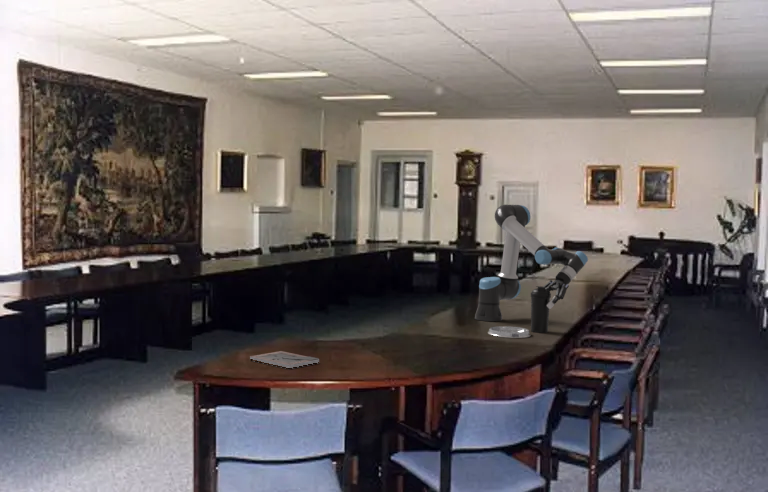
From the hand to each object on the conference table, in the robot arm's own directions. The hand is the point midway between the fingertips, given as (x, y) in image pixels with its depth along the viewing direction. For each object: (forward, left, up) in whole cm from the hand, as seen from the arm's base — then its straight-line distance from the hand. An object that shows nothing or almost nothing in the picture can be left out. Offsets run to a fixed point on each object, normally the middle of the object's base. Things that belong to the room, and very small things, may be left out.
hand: (540, 305), depth 404 cm
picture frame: (+75, -132, -14) cm, 153 cm away
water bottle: (0, 0, -13) cm, 13 cm away
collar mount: (+9, -19, -13) cm, 25 cm away
